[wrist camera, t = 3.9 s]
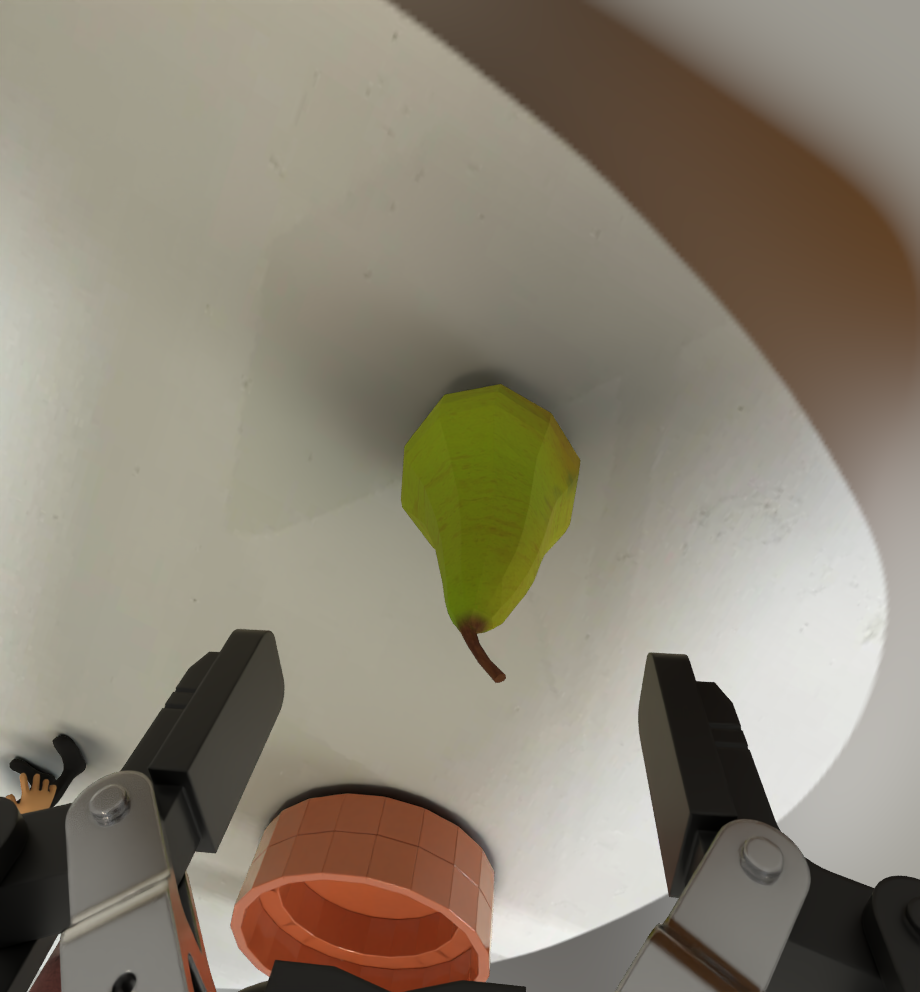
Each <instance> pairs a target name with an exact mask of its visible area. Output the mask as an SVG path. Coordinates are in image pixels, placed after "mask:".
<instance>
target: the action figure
mask: <svg viewBox="0 0 920 992" xmlns="http://www.w3.org/2000/svg"><path fill="white" fill-rule="evenodd" d="M53 744H54V747H55V748H56V750H57V751H58V753H59V754H60V756H61V757H62V760H63V764H64V771H63V772H62V774H61V776H60V777H59V778H58V779H57V780H56V779H55V777H54V776H52V775H48V774H44V773H41V772H39V771H37V770H35V769H34V768H33V767H31V766H30V765H29V764H27V763H26V762H25V761H23V760H20V759H16V758H15V759H13V760H12V761H11V762H10V768H11V769H12V770H13V771H16V772H18V773H20V774H21V775H20V783H21V790H22V796H21V799H19V800H18V801H16V799H15V797H14V796H13V795H12V794H10V795H8V796H6V798H8V799H10V800H11V801H13V802H14V803H15V805H16V806H17V808H18V810H19V811H20V813H21V814H24V813H28V812H33V811H38V810H42V809H47V808H52V807H54V806H55V805H56V804H57V803H58V801H59V800H60V799H61V797H62V796H63V794H64V793H65V791H66V790H67V788H68V786H69V785H70V783H71V782H72V780H73V779H74V778H75V777H76V776H78V775H79V774H80V773H82V772H83V771H84V770H85V768H86V763H85V761H84V759H83V758H82V756H81V754H80V751H79V749H78V748H77V746H76V745H75V744H74V742H73V741H72V740H71V739H70V738H68V737H65V736H58V737H56V738H55V739H54V740H53ZM27 780H28V781H27ZM28 782H29V783H30V785H31V788H30V790H29V786H28Z"/></svg>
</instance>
